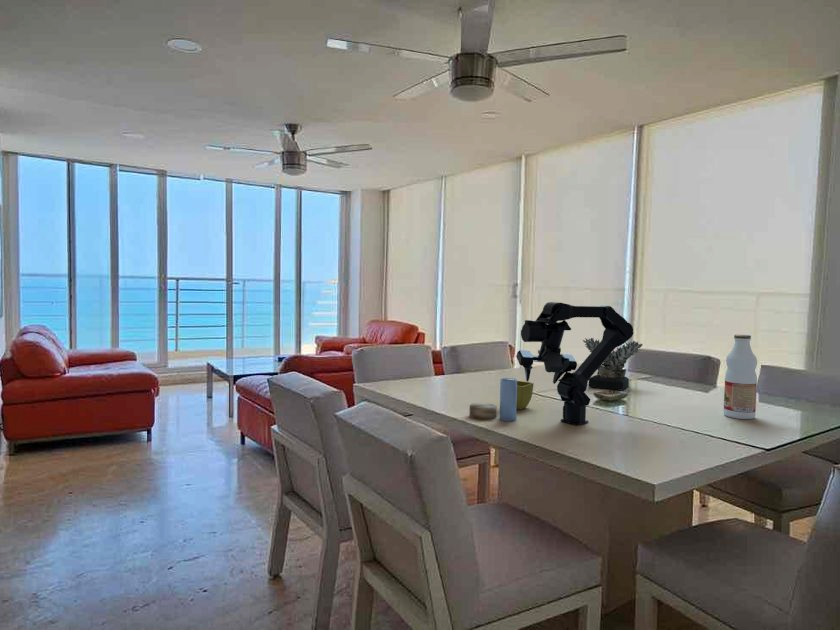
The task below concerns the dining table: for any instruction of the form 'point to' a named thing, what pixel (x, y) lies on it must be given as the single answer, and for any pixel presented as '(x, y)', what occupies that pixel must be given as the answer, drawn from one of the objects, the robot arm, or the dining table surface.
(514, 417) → the vase
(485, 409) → the grey-beige round disc
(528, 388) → the flower pot
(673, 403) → the dining table surface
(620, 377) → the coral
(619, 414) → the dining table surface
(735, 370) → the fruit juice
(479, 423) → the dining table surface
